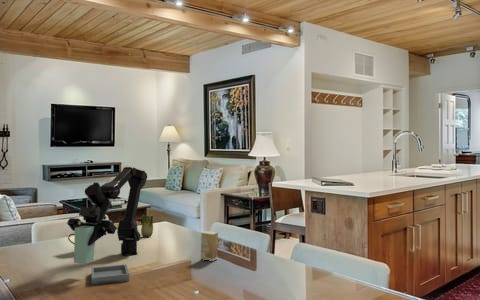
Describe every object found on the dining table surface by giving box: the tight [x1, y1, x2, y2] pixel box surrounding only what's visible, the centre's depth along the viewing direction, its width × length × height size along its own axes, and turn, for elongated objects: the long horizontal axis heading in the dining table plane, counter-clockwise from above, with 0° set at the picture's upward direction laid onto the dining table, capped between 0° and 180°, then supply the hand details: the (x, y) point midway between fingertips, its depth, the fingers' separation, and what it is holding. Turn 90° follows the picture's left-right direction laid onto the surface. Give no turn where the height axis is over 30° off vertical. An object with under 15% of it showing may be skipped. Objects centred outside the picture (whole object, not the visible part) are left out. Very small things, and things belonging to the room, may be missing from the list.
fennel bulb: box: [140, 214, 154, 238], centre depth 220 cm, size 6×5×12 cm
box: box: [91, 263, 130, 286], centre depth 152 cm, size 13×13×2 cm
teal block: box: [73, 226, 95, 265], centre depth 153 cm, size 5×5×13 cm
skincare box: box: [200, 230, 219, 261], centre depth 176 cm, size 6×4×12 cm
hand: (82, 244), depth 152 cm, fingers closed on teal block, 5 cm apart
